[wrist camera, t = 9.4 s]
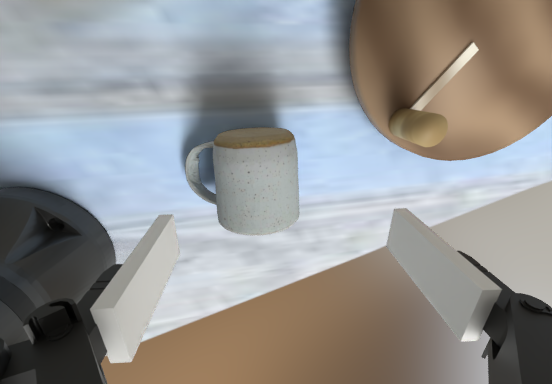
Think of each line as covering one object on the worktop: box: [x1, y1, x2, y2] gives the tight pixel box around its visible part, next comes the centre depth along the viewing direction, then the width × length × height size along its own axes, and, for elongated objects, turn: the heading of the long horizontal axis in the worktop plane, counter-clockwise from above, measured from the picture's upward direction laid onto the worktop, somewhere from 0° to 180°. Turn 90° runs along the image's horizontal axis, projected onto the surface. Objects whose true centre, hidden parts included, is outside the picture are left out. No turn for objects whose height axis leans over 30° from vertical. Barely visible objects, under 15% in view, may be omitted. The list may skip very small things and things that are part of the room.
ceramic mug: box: [185, 127, 299, 235], centre depth 23 cm, size 11×8×8 cm
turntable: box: [349, 0, 552, 161], centre depth 19 cm, size 21×21×6 cm
